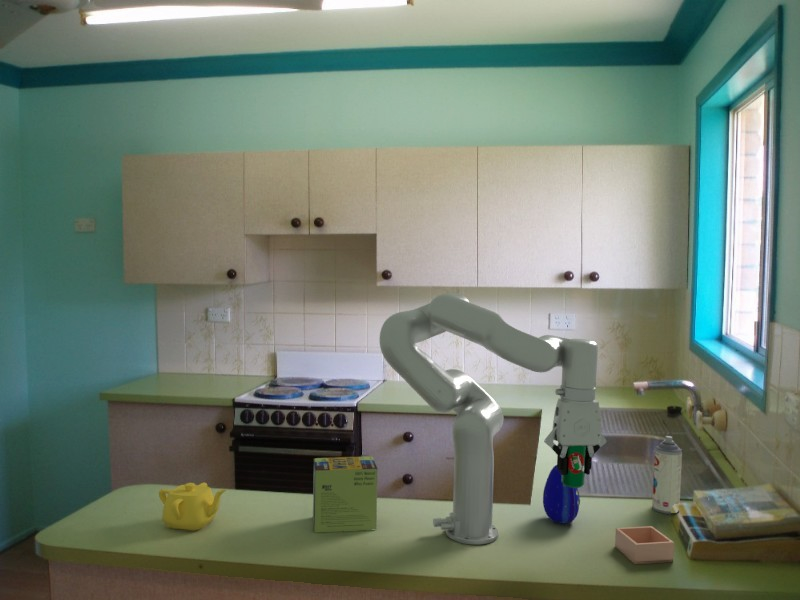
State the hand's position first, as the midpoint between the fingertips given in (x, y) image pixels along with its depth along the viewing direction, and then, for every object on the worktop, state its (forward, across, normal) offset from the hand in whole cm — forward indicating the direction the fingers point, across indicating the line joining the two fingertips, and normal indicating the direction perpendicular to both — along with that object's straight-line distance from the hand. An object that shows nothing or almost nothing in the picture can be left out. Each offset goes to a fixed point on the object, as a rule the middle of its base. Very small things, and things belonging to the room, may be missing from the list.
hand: (573, 472), depth 155 cm
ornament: (+19, +6, +18) cm, 27 cm away
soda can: (+3, 0, 0) cm, 3 cm away
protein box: (+20, -50, +24) cm, 58 cm away
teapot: (+20, -86, +28) cm, 93 cm away
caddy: (+19, +16, -3) cm, 25 cm away
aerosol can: (+19, +38, +22) cm, 47 cm away
